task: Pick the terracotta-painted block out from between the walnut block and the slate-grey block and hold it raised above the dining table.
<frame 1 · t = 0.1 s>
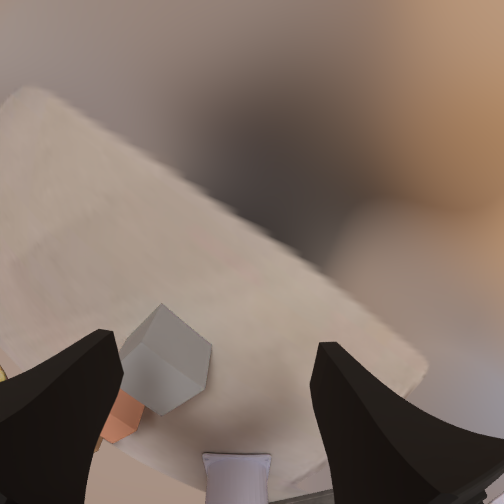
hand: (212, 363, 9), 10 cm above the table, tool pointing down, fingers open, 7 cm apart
slate block: (167, 341, 21), on the table
flask: (297, 498, 33), on the table
terracotta block: (116, 385, 22), on the table
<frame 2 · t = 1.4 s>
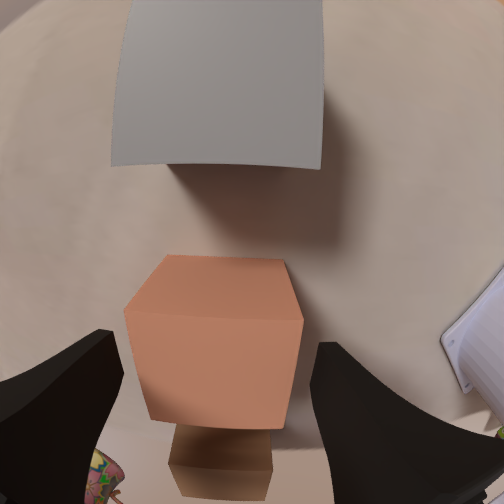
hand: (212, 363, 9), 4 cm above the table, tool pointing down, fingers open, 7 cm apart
slate block: (229, 103, 10), on the table
terracotta block: (223, 307, 13), on the table
walnut block: (225, 423, 15), on the table
mug: (100, 457, 18), on the table
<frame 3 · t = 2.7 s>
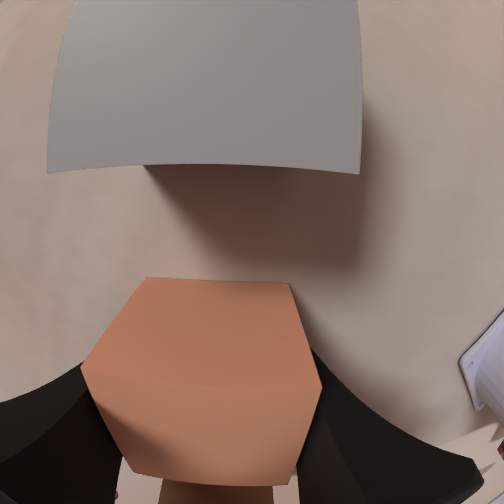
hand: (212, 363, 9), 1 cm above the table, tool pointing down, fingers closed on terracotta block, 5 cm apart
slate block: (222, 87, 8), on the table
terracotta block: (216, 340, 10), on the table, touching gripper
walnut block: (221, 452, 13), on the table
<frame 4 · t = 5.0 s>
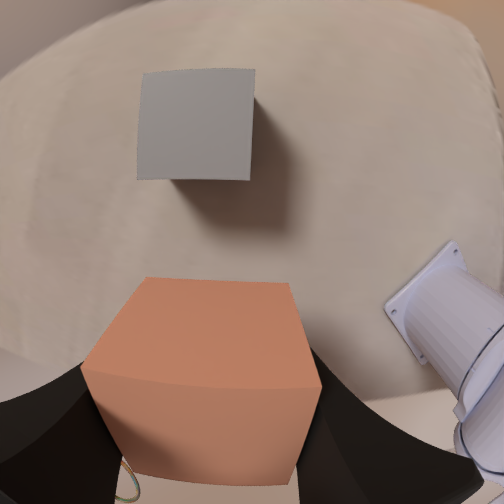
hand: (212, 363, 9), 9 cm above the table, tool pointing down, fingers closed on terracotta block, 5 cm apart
slate block: (208, 133, 15), on the table
terracotta block: (216, 339, 10), point 8 cm above the table, touching gripper
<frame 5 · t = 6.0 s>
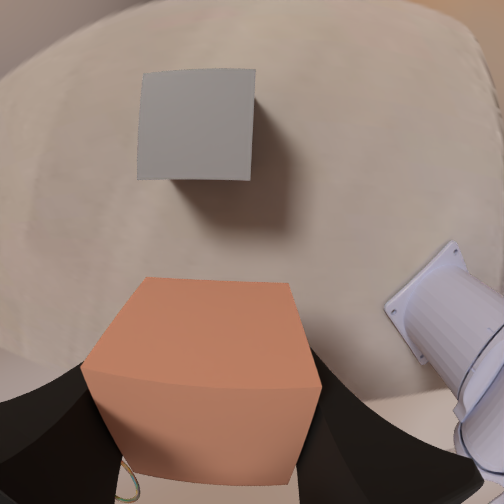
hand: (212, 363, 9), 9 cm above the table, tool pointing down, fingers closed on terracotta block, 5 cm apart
slate block: (208, 133, 15), on the table
terracotta block: (216, 339, 10), point 8 cm above the table, touching gripper
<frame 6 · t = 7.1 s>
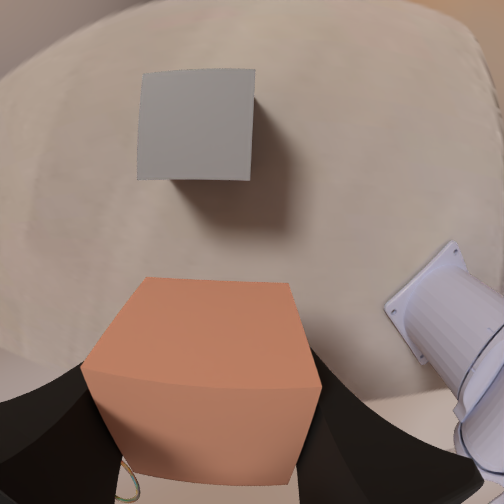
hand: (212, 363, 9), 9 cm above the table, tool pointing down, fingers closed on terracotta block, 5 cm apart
slate block: (208, 133, 15), on the table
terracotta block: (216, 339, 10), point 8 cm above the table, touching gripper
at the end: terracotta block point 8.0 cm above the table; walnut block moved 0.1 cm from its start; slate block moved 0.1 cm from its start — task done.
